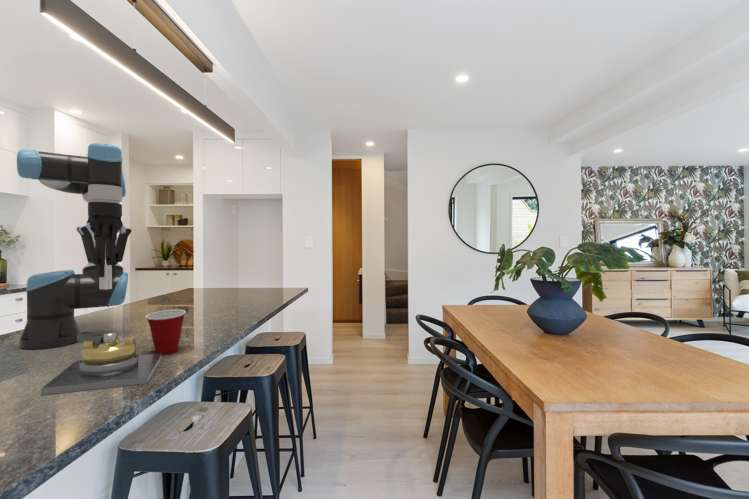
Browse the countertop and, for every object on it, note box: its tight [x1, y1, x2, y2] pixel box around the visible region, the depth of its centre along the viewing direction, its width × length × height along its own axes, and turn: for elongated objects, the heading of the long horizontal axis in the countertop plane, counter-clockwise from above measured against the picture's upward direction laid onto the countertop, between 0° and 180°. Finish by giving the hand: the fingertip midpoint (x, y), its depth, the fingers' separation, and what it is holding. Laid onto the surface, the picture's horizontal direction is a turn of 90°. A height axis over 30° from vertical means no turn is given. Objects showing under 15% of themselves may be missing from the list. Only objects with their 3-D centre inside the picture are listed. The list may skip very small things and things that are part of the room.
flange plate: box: [40, 352, 163, 396], centre depth 93 cm, size 20×20×4 cm
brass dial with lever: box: [77, 331, 137, 364], centre depth 95 cm, size 18×11×6 cm, turn 66°
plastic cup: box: [144, 308, 187, 355], centre depth 113 cm, size 11×11×12 cm
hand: (105, 288), depth 102 cm, fingers closed
